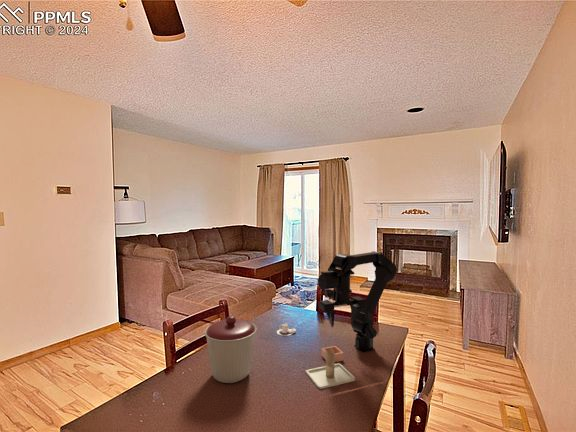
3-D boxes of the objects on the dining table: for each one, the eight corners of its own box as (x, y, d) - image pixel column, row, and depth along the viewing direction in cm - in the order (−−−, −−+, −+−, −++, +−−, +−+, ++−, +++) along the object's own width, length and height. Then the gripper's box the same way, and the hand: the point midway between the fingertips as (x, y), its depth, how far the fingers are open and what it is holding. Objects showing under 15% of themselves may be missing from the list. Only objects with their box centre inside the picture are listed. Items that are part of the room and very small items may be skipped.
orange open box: (335, 354, 126) (335, 345, 126) (343, 361, 120) (343, 352, 120) (321, 357, 124) (321, 348, 124) (329, 364, 118) (329, 355, 118)
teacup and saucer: (298, 332, 148) (298, 324, 148) (289, 338, 141) (289, 329, 141) (282, 328, 153) (282, 320, 153) (273, 334, 146) (273, 325, 146)
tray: (339, 366, 117) (339, 363, 117) (356, 381, 107) (356, 378, 106) (305, 373, 112) (305, 370, 112) (319, 390, 101) (319, 387, 101)
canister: (264, 366, 116) (264, 311, 115) (242, 395, 99) (241, 329, 98) (222, 358, 122) (221, 305, 121) (194, 384, 105) (193, 322, 104)
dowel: (331, 373, 111) (331, 348, 111) (335, 377, 108) (336, 352, 108) (324, 374, 110) (324, 349, 110) (328, 379, 107) (328, 353, 107)
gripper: (351, 279, 134) (351, 315, 135) (312, 283, 128) (312, 321, 128) (367, 286, 124) (366, 324, 125) (325, 290, 117) (325, 331, 118)
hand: (342, 325), depth 124 cm, fingers open, 9 cm apart
